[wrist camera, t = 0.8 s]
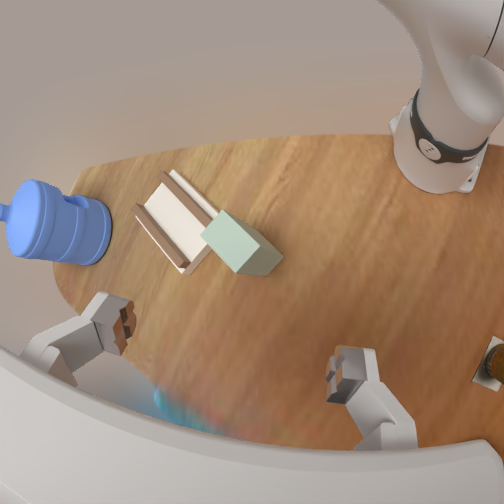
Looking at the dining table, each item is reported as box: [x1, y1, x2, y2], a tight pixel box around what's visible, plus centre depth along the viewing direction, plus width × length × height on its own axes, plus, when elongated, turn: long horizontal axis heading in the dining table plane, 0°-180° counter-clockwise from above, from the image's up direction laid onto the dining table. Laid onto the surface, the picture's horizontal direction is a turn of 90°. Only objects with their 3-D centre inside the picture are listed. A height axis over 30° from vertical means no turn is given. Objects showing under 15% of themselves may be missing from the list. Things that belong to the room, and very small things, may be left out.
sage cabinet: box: [200, 209, 284, 276], centre depth 44 cm, size 4×8×14 cm, turn 45°
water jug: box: [0, 179, 111, 265], centre depth 51 cm, size 16×16×28 cm
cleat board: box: [131, 170, 219, 274], centre depth 53 cm, size 12×16×6 cm
